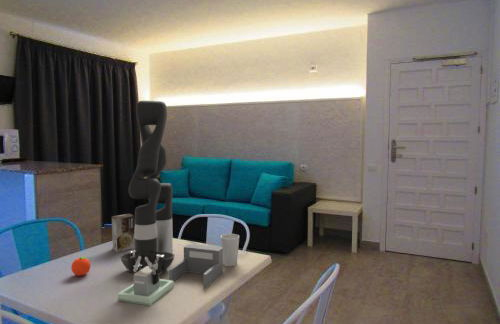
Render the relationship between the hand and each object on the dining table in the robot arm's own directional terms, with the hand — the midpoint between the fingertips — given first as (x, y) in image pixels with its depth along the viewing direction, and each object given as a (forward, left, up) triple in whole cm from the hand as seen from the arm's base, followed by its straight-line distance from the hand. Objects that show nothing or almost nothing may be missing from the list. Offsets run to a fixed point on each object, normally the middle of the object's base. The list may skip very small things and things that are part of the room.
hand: (146, 282), depth 131 cm
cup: (+17, +37, -4) cm, 41 cm away
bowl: (-12, +19, -4) cm, 23 cm away
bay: (+10, +18, -4) cm, 21 cm away
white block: (0, 0, -3) cm, 3 cm away
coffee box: (-39, +40, -4) cm, 56 cm away
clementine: (-34, +7, -4) cm, 35 cm away
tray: (0, 0, -4) cm, 4 cm away
